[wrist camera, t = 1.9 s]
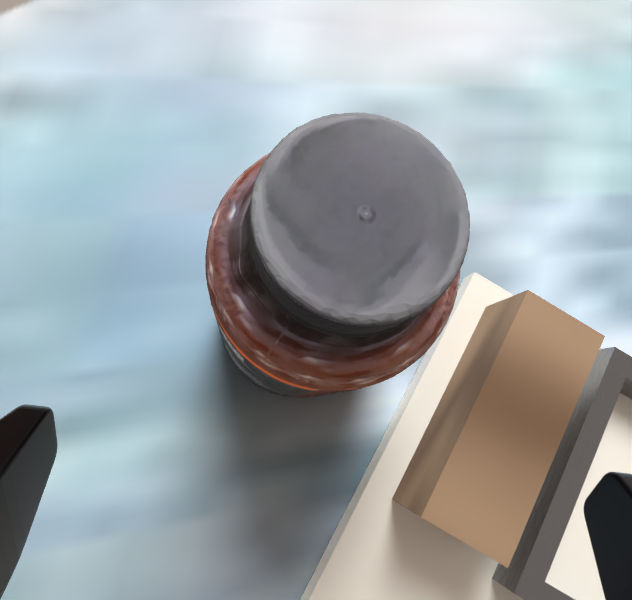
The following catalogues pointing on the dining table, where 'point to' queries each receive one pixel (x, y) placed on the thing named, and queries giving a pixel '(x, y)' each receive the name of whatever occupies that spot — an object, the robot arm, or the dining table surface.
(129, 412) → the dining table surface
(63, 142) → the dining table surface
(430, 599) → the cream flat board
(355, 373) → the supplement bottle
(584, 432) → the gray square frame
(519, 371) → the walnut wall block
